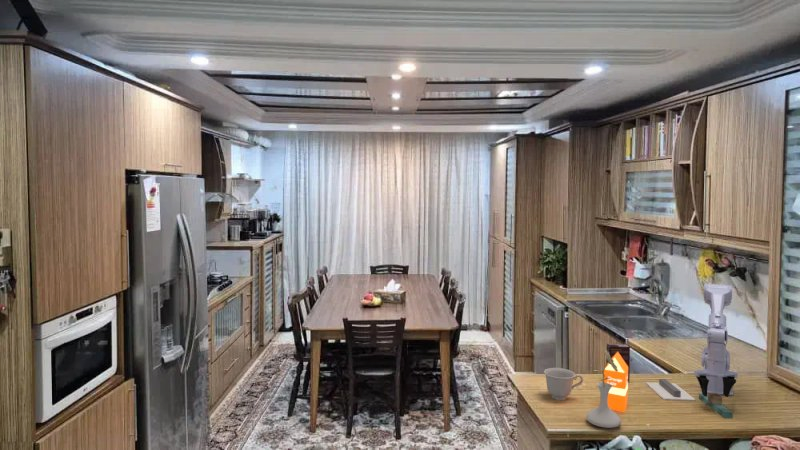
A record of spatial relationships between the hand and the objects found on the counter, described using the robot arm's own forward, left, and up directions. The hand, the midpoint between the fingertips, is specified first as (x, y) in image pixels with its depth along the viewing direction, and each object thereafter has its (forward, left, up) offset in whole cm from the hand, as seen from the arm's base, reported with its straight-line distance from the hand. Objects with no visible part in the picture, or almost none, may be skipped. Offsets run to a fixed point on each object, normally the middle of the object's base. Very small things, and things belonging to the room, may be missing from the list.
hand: (715, 395), depth 189 cm
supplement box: (+27, -26, -5) cm, 38 cm away
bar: (0, 0, -5) cm, 5 cm away
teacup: (+55, -4, -5) cm, 55 cm away
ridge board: (+10, -15, -5) cm, 19 cm away
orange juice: (+37, +2, -5) cm, 37 cm away
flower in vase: (+46, +18, -5) cm, 50 cm away
